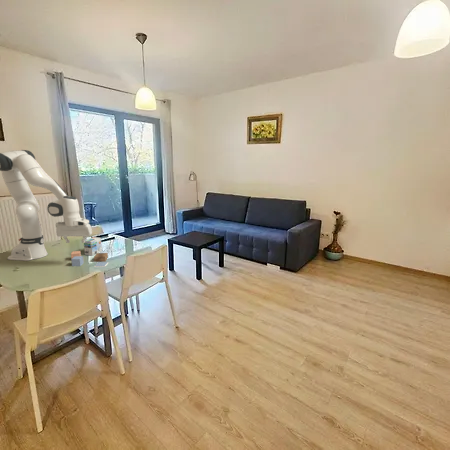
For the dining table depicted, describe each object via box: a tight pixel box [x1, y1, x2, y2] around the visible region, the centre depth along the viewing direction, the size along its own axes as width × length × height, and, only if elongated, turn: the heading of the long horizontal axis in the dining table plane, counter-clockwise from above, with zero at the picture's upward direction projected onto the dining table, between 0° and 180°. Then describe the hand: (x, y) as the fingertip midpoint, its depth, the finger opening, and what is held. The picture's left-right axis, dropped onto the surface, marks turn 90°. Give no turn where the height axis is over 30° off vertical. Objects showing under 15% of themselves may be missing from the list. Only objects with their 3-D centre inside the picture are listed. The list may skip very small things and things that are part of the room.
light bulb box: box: [83, 236, 103, 257], centre depth 187 cm, size 11×7×11 cm, turn 168°
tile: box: [93, 261, 109, 268], centre depth 167 cm, size 7×7×1 cm
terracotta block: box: [70, 250, 82, 259], centre depth 175 cm, size 5×5×5 cm
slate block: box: [71, 255, 85, 267], centre depth 166 cm, size 5×5×5 cm
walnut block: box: [93, 252, 109, 263], centre depth 175 cm, size 7×7×4 cm
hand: (75, 242), depth 163 cm, fingers open, 8 cm apart
